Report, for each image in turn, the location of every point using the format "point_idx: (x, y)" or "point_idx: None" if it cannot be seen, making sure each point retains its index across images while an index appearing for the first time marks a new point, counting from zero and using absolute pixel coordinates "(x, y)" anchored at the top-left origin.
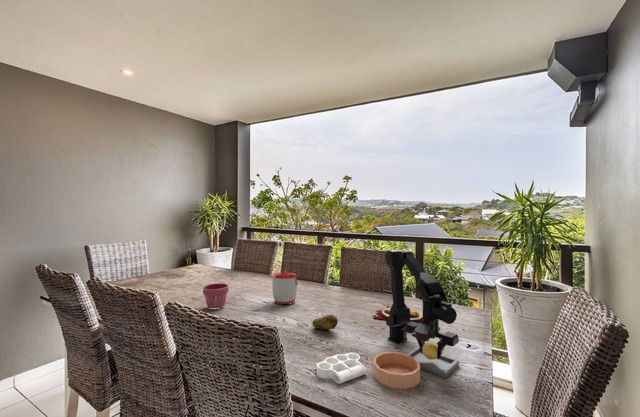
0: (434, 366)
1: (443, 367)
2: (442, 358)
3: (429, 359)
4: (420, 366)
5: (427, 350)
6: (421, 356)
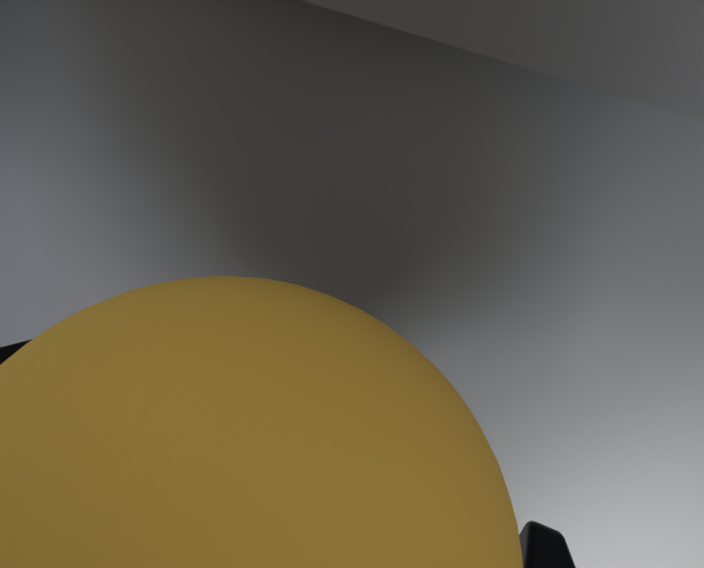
0: (232, 163)
1: (80, 203)
2: None
3: None
4: None
5: (189, 432)
6: (600, 529)
